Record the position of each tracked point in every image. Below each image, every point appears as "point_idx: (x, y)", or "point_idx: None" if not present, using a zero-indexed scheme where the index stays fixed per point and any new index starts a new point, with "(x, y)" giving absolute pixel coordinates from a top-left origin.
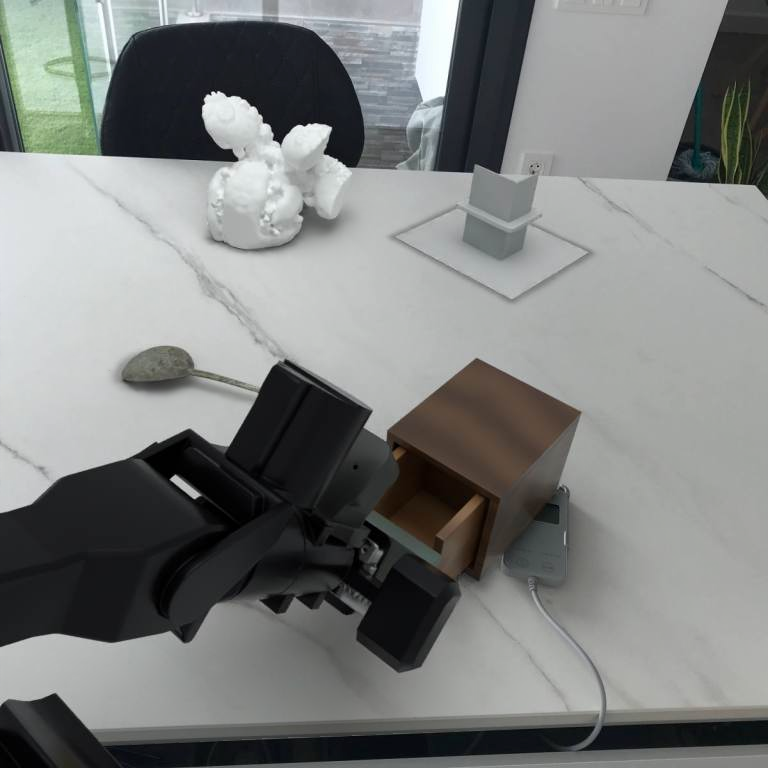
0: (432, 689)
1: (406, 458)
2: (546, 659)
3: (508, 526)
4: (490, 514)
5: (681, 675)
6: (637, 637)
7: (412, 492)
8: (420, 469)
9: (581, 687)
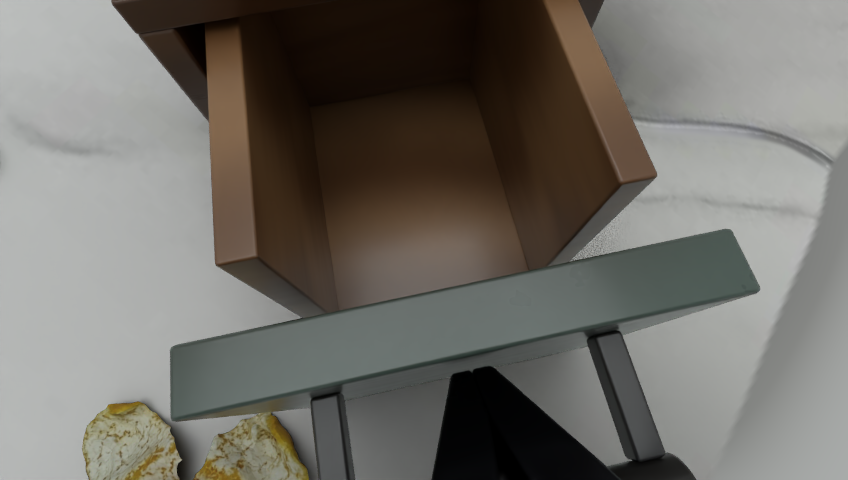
0: (683, 399)
1: (255, 54)
2: (724, 182)
3: None
4: (584, 9)
5: (838, 45)
6: (753, 47)
7: (309, 128)
8: (287, 69)
9: (795, 174)
